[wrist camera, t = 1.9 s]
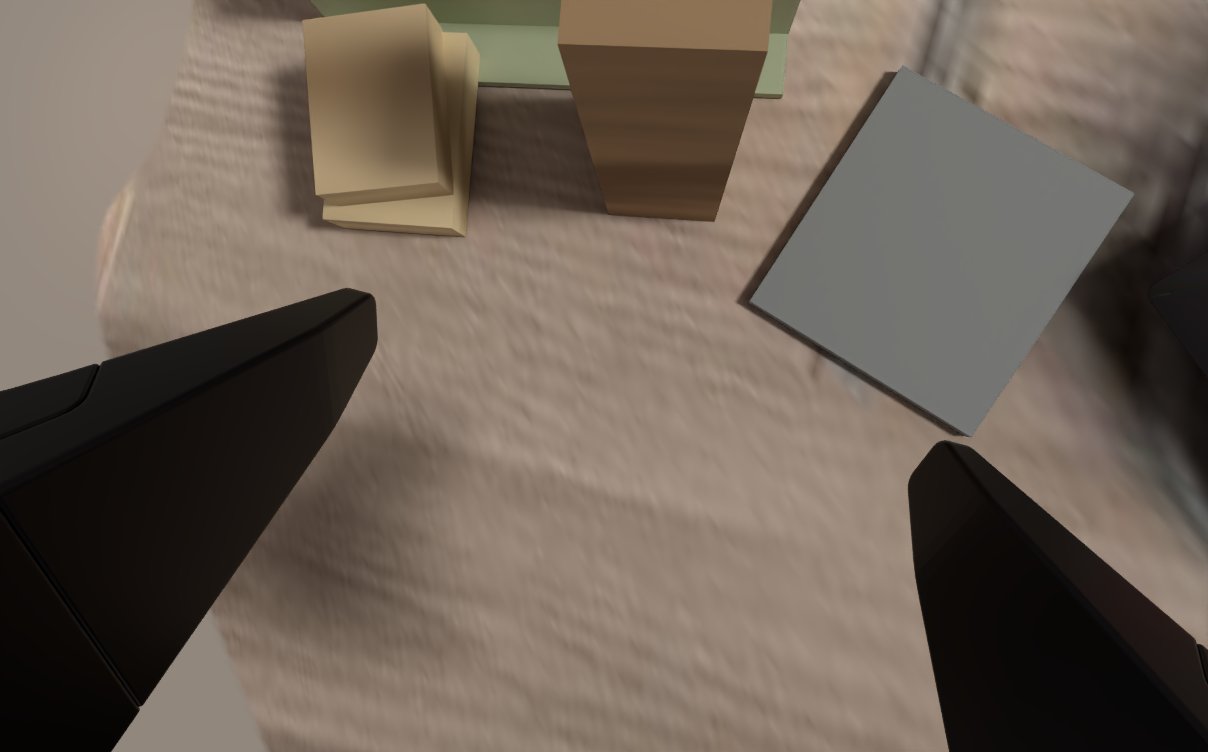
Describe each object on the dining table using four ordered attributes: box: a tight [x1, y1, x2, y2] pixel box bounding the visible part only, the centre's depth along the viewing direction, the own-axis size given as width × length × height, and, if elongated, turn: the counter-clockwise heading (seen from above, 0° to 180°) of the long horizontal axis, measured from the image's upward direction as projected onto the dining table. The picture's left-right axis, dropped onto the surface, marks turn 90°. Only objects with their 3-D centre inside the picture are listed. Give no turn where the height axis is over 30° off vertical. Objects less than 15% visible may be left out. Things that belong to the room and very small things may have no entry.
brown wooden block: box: [557, 0, 772, 221], centre depth 17 cm, size 4×4×11 cm
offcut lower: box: [323, 32, 480, 237], centre depth 22 cm, size 7×5×2 cm
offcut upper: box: [302, 3, 454, 206], centre depth 21 cm, size 6×4×2 cm
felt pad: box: [748, 66, 1135, 437], centre depth 21 cm, size 10×9×1 cm
